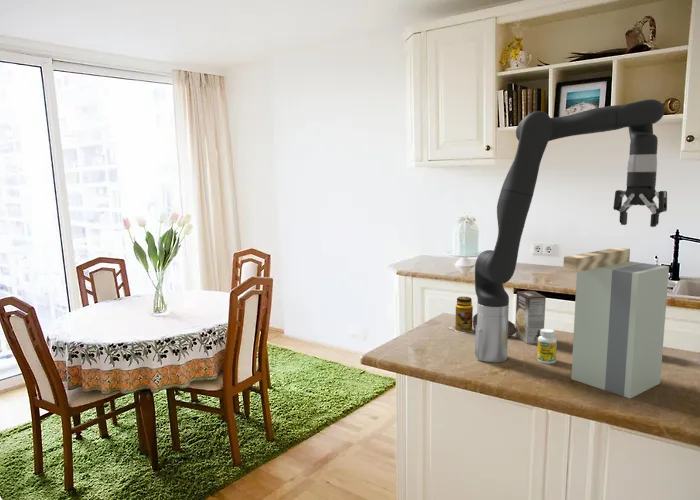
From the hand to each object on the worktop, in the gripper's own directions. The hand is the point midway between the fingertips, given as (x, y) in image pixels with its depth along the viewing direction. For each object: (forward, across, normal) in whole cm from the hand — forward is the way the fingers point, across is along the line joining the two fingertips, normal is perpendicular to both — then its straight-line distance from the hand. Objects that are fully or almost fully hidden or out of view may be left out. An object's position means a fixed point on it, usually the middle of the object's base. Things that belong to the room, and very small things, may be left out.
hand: (638, 225), depth 155 cm
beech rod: (+9, -3, +27) cm, 29 cm away
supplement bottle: (+41, +13, +23) cm, 49 cm away
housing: (+41, -7, +22) cm, 47 cm away
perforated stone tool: (+41, +40, +14) cm, 59 cm away
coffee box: (+41, +29, +10) cm, 51 cm away
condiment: (+41, +51, +19) cm, 68 cm away
